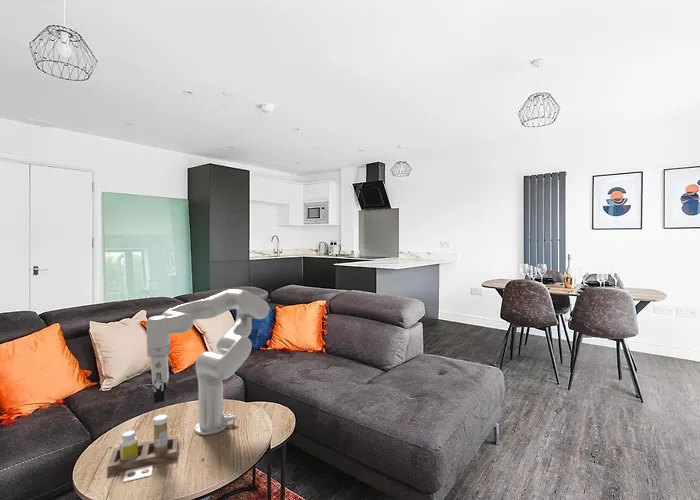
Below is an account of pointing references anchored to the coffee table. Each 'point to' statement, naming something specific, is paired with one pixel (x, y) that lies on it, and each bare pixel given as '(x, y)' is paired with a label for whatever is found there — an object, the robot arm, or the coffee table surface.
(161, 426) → the sprinkles bottle
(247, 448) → the coffee table surface
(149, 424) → the coffee table surface
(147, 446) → the bottle rack
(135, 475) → the card
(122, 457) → the supplement bottle
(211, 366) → the robot arm
